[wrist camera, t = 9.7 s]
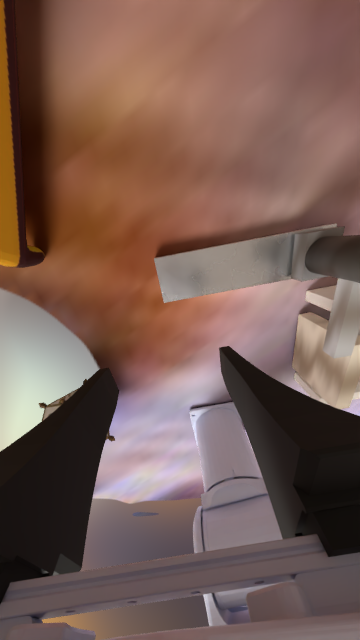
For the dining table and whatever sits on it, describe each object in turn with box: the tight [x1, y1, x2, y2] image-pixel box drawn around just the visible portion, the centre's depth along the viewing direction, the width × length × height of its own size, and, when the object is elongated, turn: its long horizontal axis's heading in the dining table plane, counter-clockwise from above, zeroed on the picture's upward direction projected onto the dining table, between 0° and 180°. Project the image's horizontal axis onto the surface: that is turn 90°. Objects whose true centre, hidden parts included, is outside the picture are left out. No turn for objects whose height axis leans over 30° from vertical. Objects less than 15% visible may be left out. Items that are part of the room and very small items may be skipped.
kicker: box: [291, 226, 360, 409], centre depth 16 cm, size 17×4×9 cm, turn 10°
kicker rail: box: [154, 223, 337, 303], centre depth 17 cm, size 4×17×1 cm, turn 100°
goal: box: [294, 285, 360, 404], centre depth 19 cm, size 13×9×6 cm
